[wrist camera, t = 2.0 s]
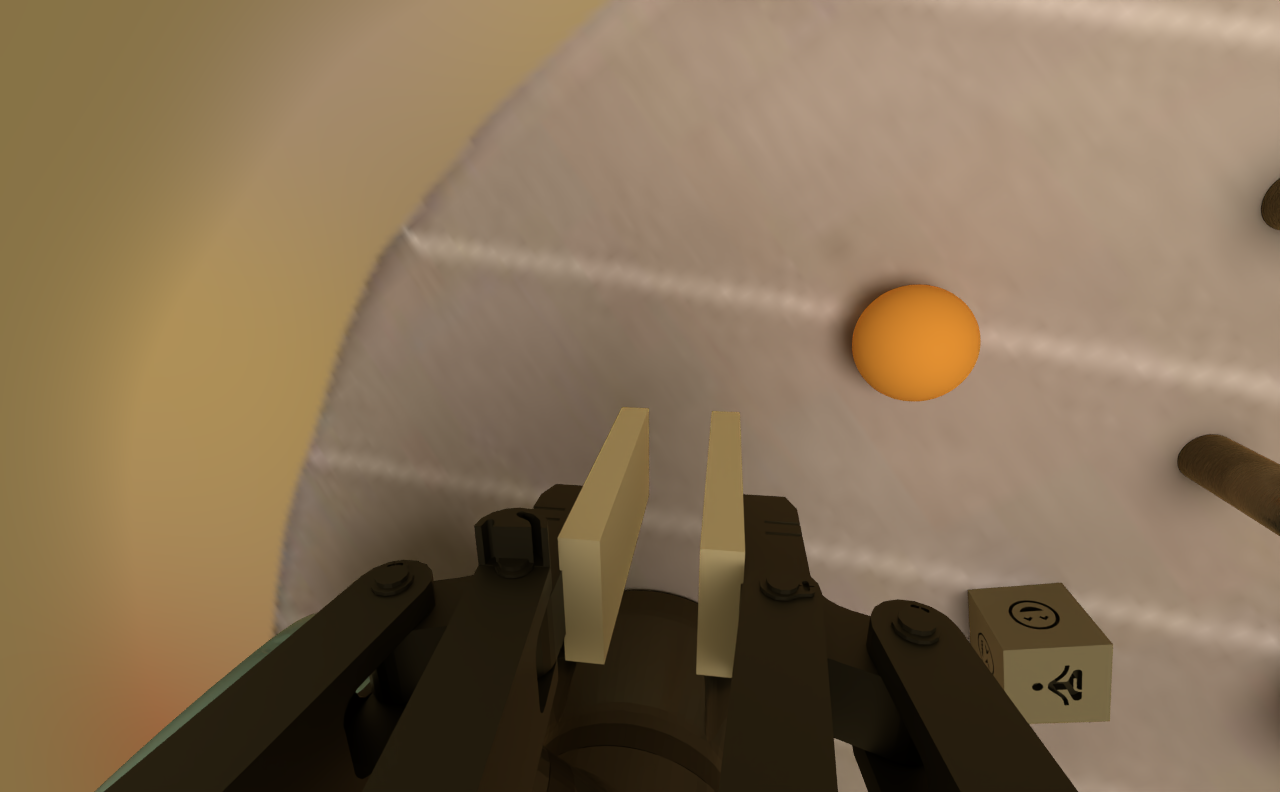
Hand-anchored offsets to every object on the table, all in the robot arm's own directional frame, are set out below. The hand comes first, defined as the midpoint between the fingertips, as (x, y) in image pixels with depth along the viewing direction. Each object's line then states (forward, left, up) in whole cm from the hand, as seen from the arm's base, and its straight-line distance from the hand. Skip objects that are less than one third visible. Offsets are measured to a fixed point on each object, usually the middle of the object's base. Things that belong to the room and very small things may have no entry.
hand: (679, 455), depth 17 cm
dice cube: (+19, -18, -17) cm, 31 cm away
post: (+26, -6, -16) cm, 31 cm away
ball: (+10, 0, -14) cm, 17 cm away
